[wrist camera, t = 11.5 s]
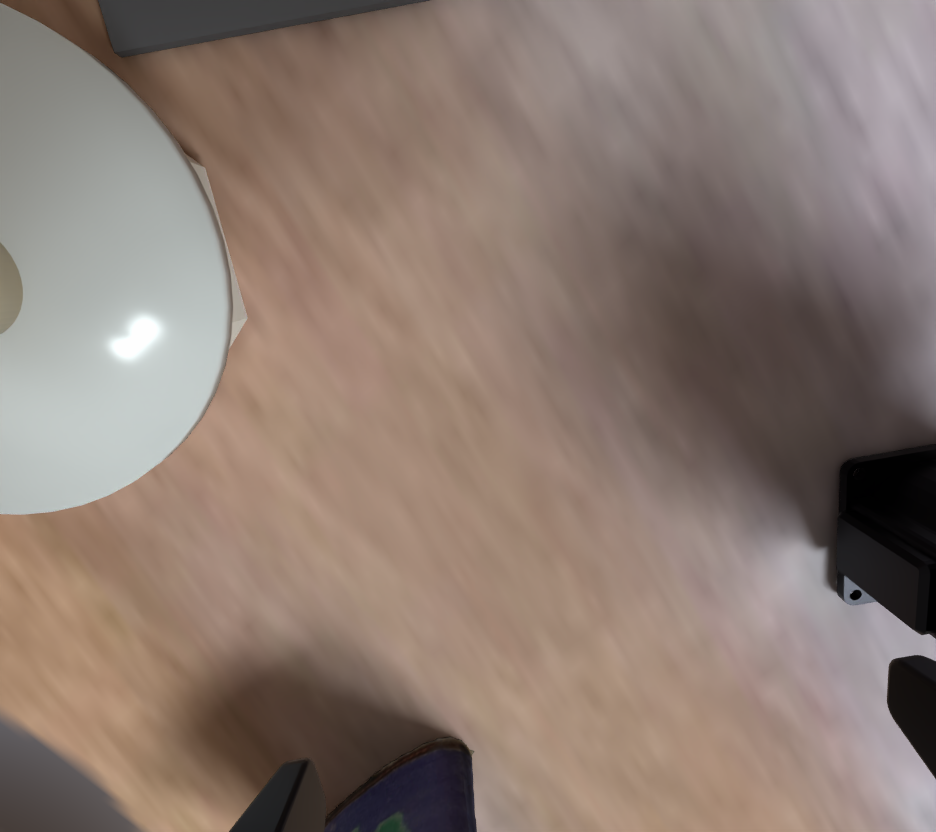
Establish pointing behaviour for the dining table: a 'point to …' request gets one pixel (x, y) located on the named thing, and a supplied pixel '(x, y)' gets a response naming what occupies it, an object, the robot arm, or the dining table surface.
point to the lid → (97, 279)
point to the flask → (414, 794)
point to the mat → (215, 19)
